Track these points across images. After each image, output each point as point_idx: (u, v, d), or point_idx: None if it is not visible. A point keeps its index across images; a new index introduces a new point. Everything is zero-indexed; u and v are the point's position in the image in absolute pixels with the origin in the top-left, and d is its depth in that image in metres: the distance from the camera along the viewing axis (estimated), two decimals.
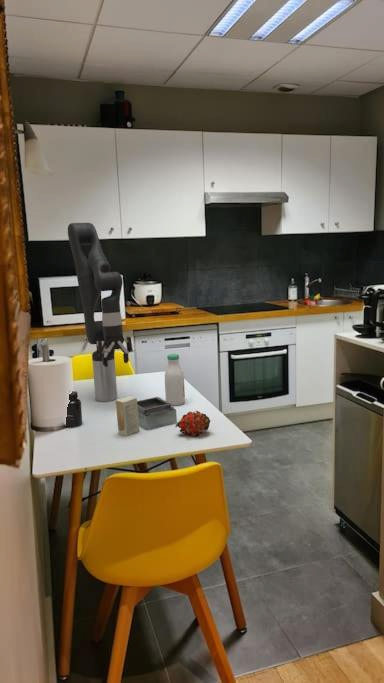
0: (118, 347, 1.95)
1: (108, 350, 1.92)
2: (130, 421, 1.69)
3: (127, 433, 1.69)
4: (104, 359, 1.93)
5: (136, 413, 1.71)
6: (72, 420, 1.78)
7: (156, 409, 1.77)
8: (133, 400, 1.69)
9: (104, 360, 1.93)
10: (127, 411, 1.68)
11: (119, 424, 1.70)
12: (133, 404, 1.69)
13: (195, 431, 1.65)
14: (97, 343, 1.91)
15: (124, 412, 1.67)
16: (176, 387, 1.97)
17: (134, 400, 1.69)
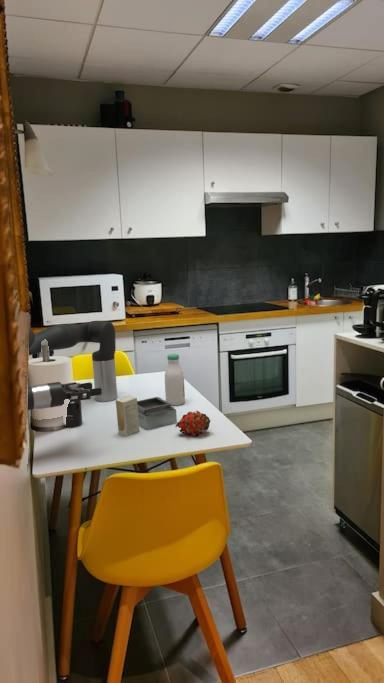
0: (74, 387, 1.59)
1: (80, 388, 1.56)
2: (130, 422, 1.69)
3: (127, 433, 1.69)
4: (92, 390, 1.56)
5: (136, 413, 1.71)
6: (72, 420, 1.78)
7: (156, 409, 1.77)
8: (133, 400, 1.69)
9: (94, 390, 1.56)
10: (127, 411, 1.68)
11: (119, 424, 1.70)
12: (133, 404, 1.69)
13: (195, 431, 1.65)
14: (74, 397, 1.51)
15: (124, 412, 1.67)
16: (176, 387, 1.97)
17: (134, 400, 1.69)
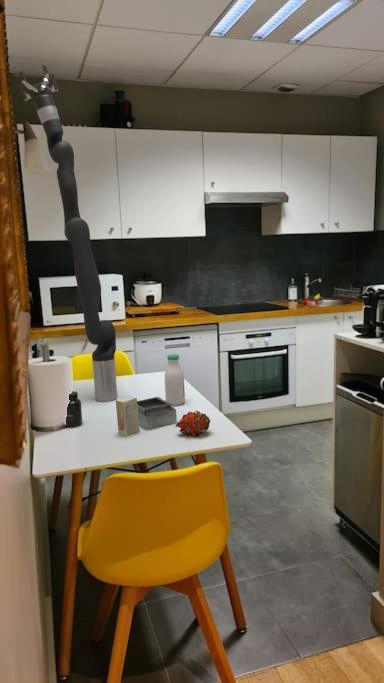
0: None
1: None
2: (130, 422, 1.69)
3: (127, 433, 1.69)
4: None
5: (136, 413, 1.71)
6: (72, 420, 1.78)
7: (156, 409, 1.77)
8: (133, 400, 1.69)
9: None
10: (127, 411, 1.68)
11: (119, 424, 1.70)
12: (133, 404, 1.69)
13: (195, 431, 1.65)
14: (23, 97, 1.95)
15: (124, 412, 1.67)
16: (176, 387, 1.97)
17: (134, 400, 1.69)
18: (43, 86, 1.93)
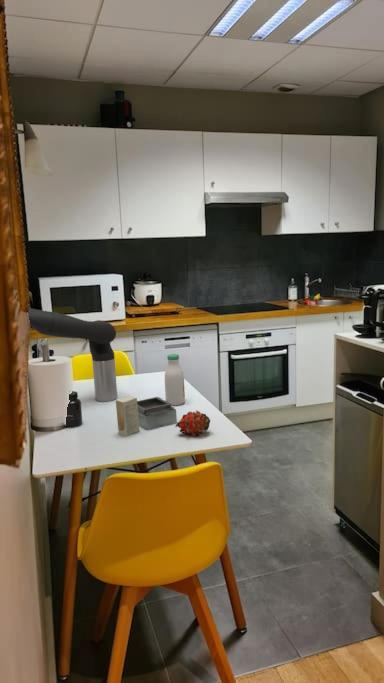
0: None
1: None
2: (130, 422, 1.69)
3: (127, 433, 1.69)
4: None
5: (136, 413, 1.71)
6: (72, 420, 1.78)
7: (156, 409, 1.77)
8: (133, 400, 1.69)
9: None
10: (127, 411, 1.68)
11: (119, 424, 1.70)
12: (133, 404, 1.69)
13: (195, 431, 1.65)
14: None
15: (124, 412, 1.67)
16: (176, 387, 1.97)
17: (134, 400, 1.69)
18: None
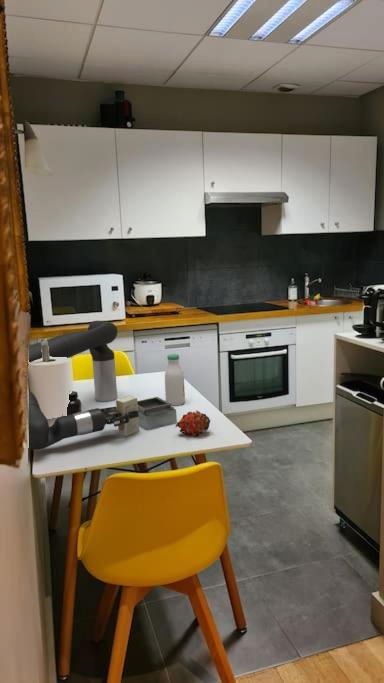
0: None
1: None
2: (130, 421, 1.69)
3: (127, 433, 1.69)
4: None
5: None
6: None
7: (156, 409, 1.77)
8: (133, 400, 1.69)
9: None
10: (127, 411, 1.68)
11: None
12: (133, 404, 1.69)
13: (195, 431, 1.65)
14: None
15: (124, 412, 1.67)
16: (176, 387, 1.97)
17: (134, 400, 1.69)
18: (112, 412, 1.66)
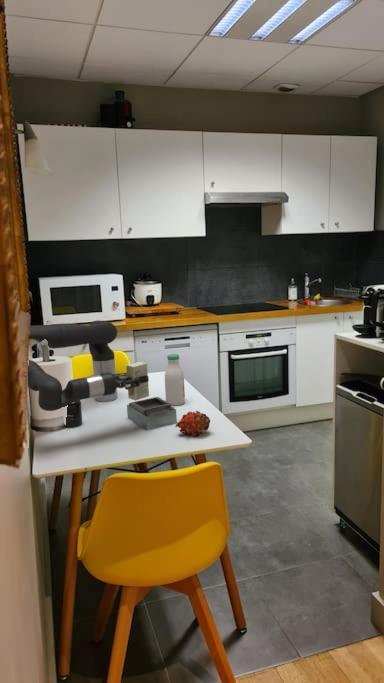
0: None
1: None
2: (140, 386, 1.72)
3: (137, 398, 1.72)
4: None
5: None
6: (72, 420, 1.78)
7: (156, 409, 1.77)
8: (143, 365, 1.72)
9: None
10: (137, 375, 1.71)
11: (129, 389, 1.73)
12: (143, 369, 1.73)
13: (195, 431, 1.65)
14: None
15: (134, 377, 1.70)
16: (176, 387, 1.97)
17: (144, 365, 1.73)
18: (123, 377, 1.69)
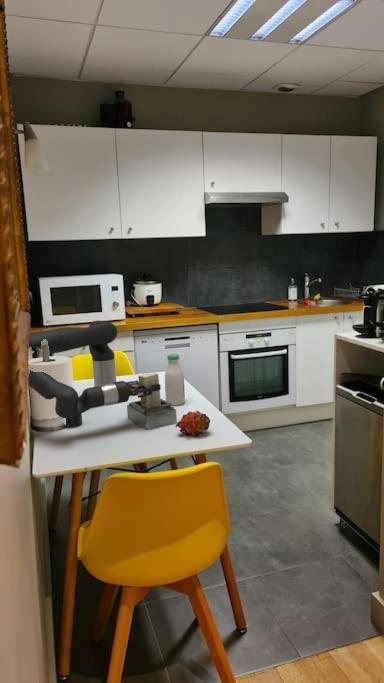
0: None
1: None
2: (152, 396, 1.79)
3: (149, 407, 1.79)
4: None
5: None
6: (72, 420, 1.78)
7: (156, 409, 1.77)
8: (155, 376, 1.79)
9: None
10: (148, 385, 1.78)
11: (142, 398, 1.80)
12: (155, 379, 1.79)
13: (195, 431, 1.65)
14: None
15: None
16: (176, 387, 1.97)
17: (156, 376, 1.79)
18: (136, 385, 1.76)
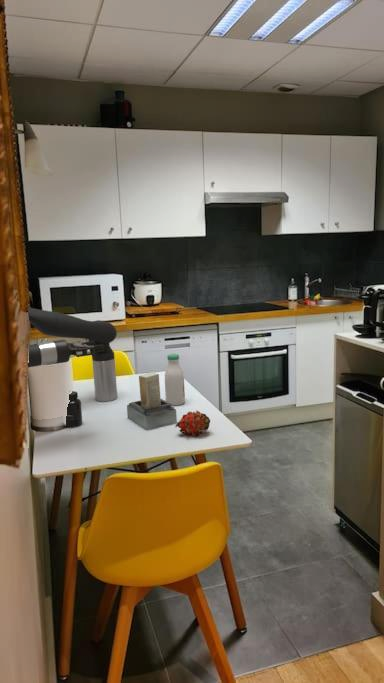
0: None
1: None
2: (152, 396, 1.79)
3: (149, 407, 1.79)
4: None
5: (158, 388, 1.80)
6: (72, 420, 1.78)
7: (156, 409, 1.77)
8: (155, 376, 1.79)
9: None
10: (149, 385, 1.78)
11: (142, 398, 1.80)
12: (155, 379, 1.79)
13: (195, 431, 1.65)
14: None
15: (146, 387, 1.77)
16: (176, 387, 1.97)
17: (156, 376, 1.79)
18: (77, 344, 1.64)
